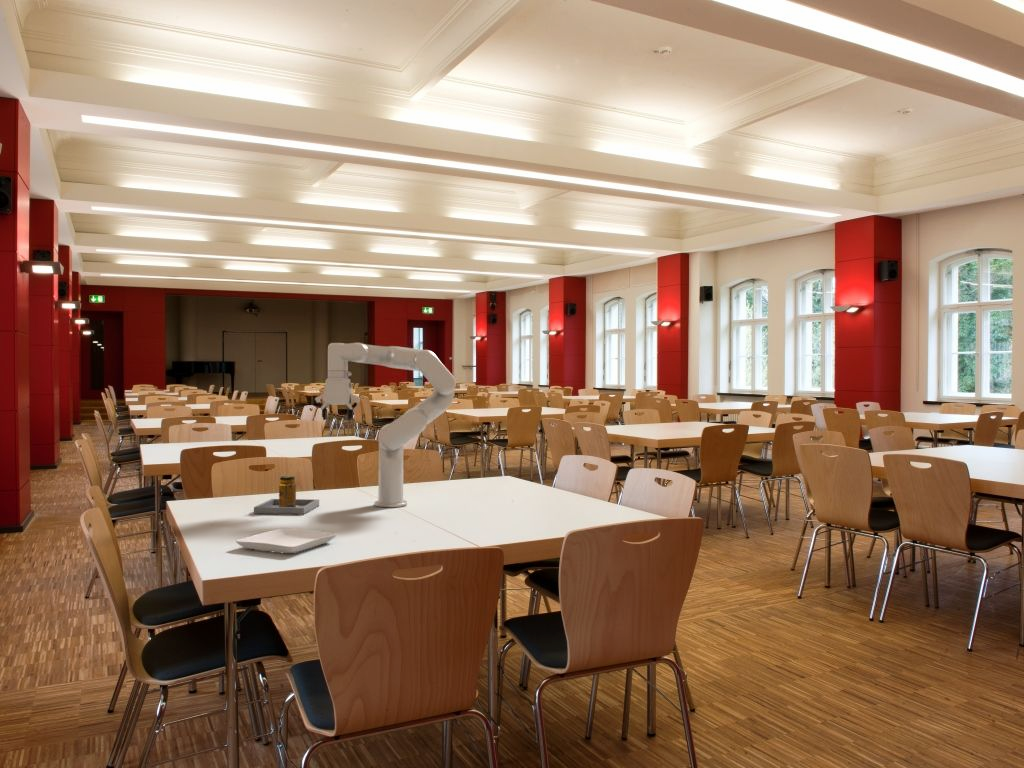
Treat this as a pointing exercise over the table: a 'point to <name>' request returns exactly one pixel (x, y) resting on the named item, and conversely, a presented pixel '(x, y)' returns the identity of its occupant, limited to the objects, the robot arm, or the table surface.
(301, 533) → the salad plate
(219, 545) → the table surface
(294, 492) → the condiment
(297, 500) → the tray
